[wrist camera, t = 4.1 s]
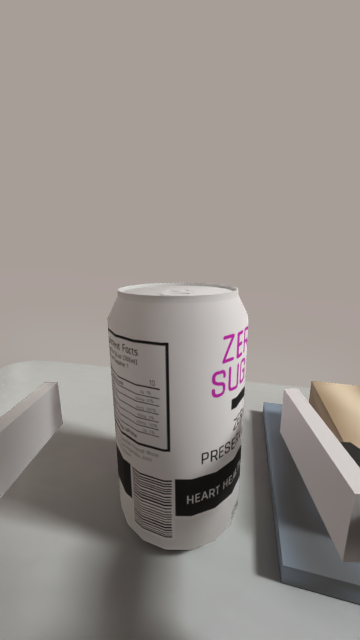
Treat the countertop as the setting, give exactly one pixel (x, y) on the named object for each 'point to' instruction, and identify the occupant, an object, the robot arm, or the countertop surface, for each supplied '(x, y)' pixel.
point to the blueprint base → (298, 506)
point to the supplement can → (178, 408)
